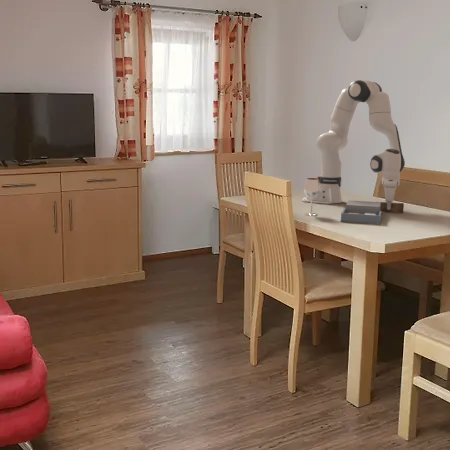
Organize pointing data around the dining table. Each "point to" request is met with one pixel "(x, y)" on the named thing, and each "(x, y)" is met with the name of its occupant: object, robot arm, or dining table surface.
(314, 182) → the wineglass
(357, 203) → the grey flat block
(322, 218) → the dining table surface
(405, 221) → the dining table surface
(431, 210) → the dining table surface
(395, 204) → the scraper bar
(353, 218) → the box
